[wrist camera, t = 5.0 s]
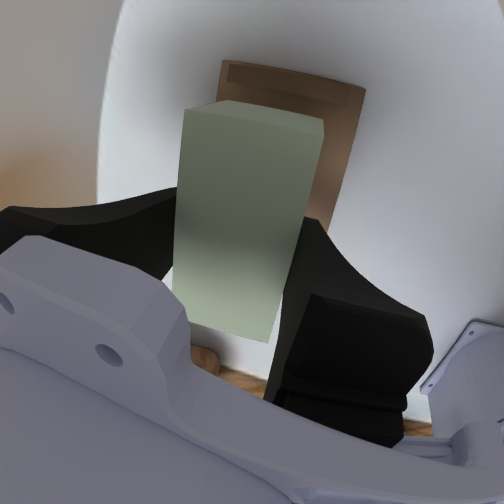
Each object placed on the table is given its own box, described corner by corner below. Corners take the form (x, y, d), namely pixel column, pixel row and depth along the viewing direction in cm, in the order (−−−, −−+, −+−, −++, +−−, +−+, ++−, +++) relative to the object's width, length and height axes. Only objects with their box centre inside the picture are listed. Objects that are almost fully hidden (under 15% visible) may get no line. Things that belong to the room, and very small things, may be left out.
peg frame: (314, 267, 22) (312, 290, 19) (201, 238, 22) (188, 257, 20) (364, 89, 15) (371, 89, 13) (225, 60, 16) (211, 57, 14)
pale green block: (282, 279, 16) (267, 343, 12) (206, 259, 16) (171, 316, 13) (323, 119, 12) (324, 136, 8) (227, 100, 12) (184, 109, 8)
